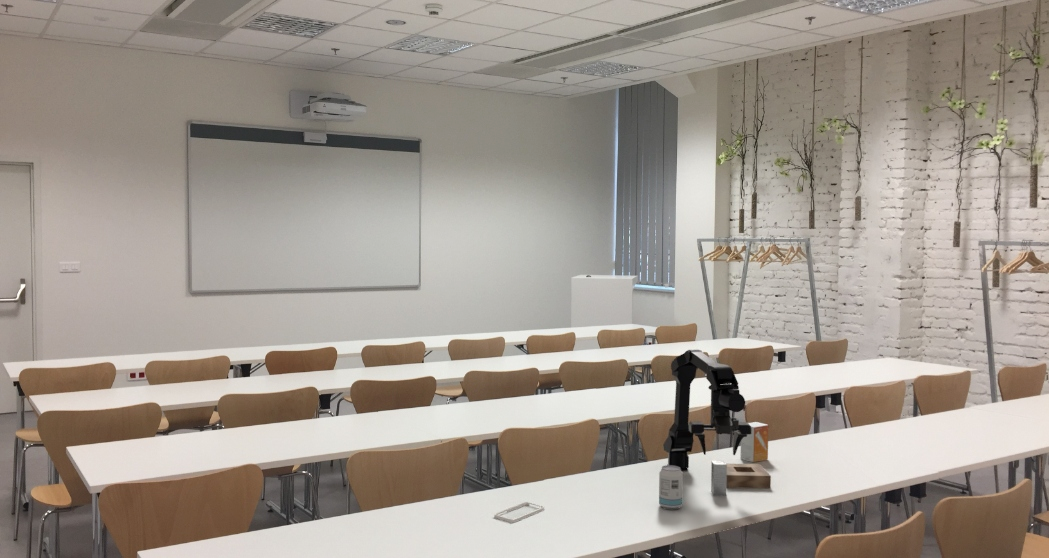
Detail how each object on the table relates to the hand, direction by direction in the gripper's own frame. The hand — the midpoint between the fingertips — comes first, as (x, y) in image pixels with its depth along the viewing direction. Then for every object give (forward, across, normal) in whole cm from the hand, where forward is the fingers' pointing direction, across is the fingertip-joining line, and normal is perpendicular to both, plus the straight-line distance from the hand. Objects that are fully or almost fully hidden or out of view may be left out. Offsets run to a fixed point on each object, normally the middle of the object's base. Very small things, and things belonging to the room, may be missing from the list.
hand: (719, 454), depth 256 cm
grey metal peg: (+12, 0, 0) cm, 13 cm away
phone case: (+13, -62, -22) cm, 67 cm away
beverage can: (+13, -17, -14) cm, 25 cm away
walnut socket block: (+12, +11, +14) cm, 22 cm away
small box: (+13, +21, +42) cm, 49 cm away
